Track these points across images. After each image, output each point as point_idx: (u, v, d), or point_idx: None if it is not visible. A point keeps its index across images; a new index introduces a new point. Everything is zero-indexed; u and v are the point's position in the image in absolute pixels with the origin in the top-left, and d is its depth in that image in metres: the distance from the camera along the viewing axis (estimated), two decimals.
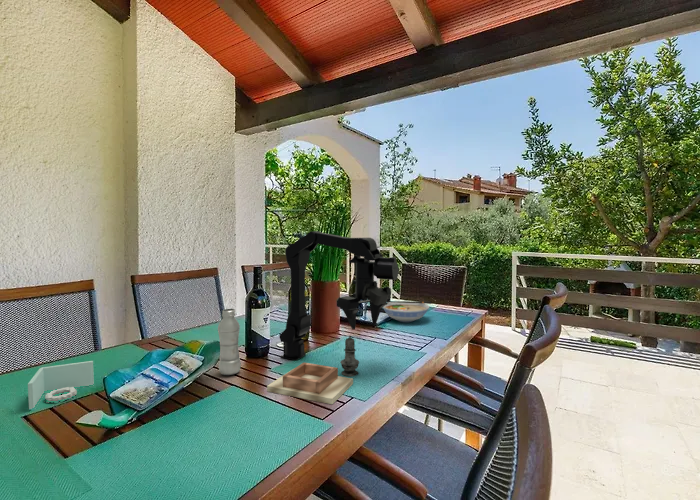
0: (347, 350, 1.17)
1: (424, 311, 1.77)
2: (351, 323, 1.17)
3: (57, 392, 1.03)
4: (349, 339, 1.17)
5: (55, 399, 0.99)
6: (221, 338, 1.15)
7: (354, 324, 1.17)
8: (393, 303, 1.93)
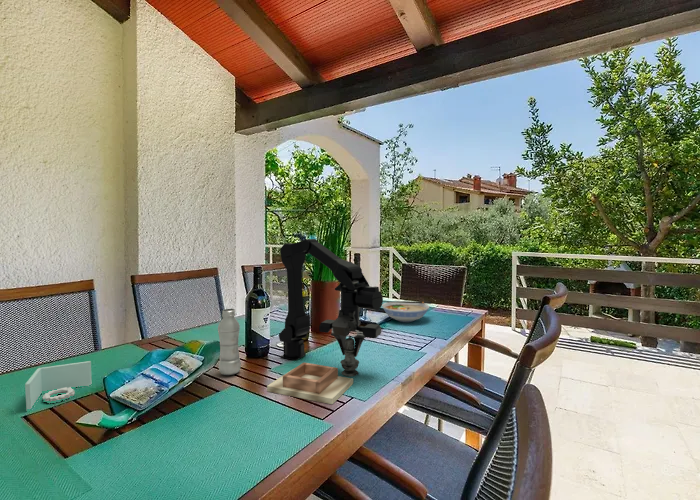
0: (347, 350, 1.17)
1: (424, 311, 1.77)
2: None
3: (55, 392, 1.02)
4: (349, 339, 1.17)
5: (53, 399, 0.98)
6: (221, 338, 1.15)
7: (342, 350, 1.18)
8: (393, 303, 1.93)
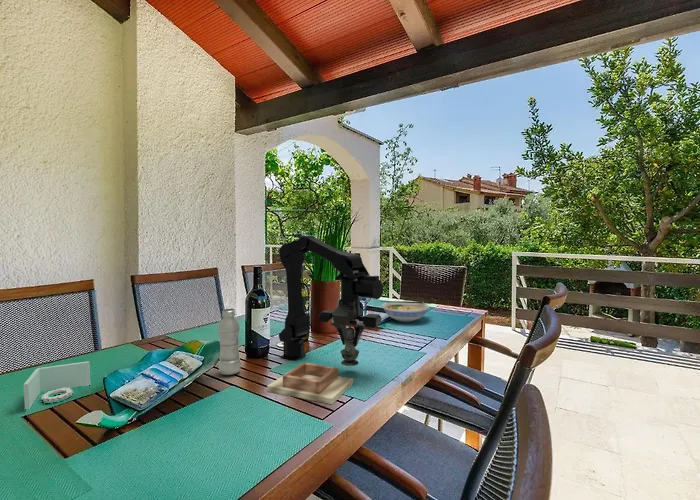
0: (347, 340, 1.17)
1: (424, 311, 1.77)
2: None
3: (53, 393, 1.02)
4: (349, 329, 1.17)
5: (51, 400, 0.98)
6: (221, 338, 1.15)
7: (342, 339, 1.18)
8: (393, 303, 1.93)
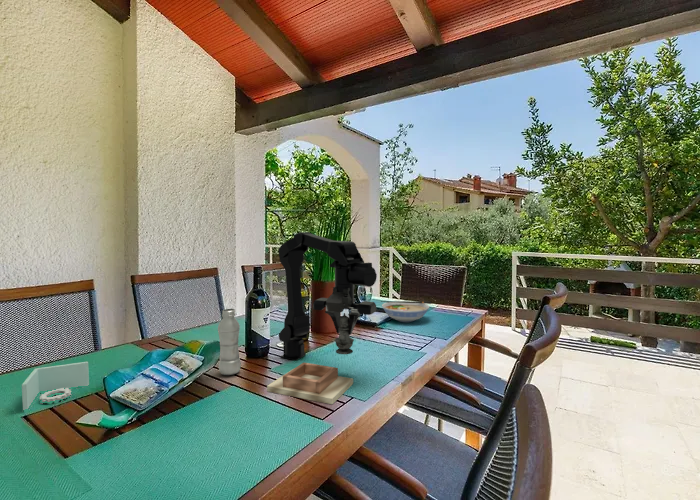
0: (342, 328, 1.15)
1: (424, 311, 1.77)
2: None
3: (52, 393, 1.02)
4: (343, 317, 1.15)
5: (49, 400, 0.98)
6: (221, 338, 1.15)
7: (336, 328, 1.16)
8: (393, 303, 1.93)
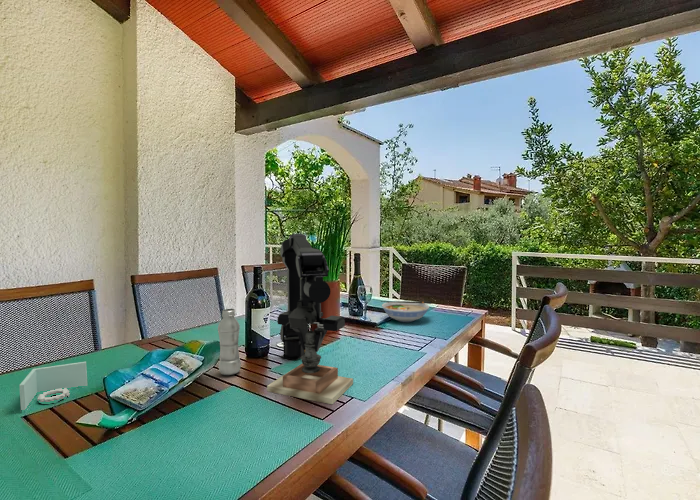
0: (308, 344, 1.06)
1: (424, 311, 1.77)
2: None
3: (50, 393, 1.02)
4: (309, 332, 1.06)
5: (47, 400, 0.98)
6: (221, 338, 1.15)
7: (302, 344, 1.08)
8: (393, 303, 1.93)
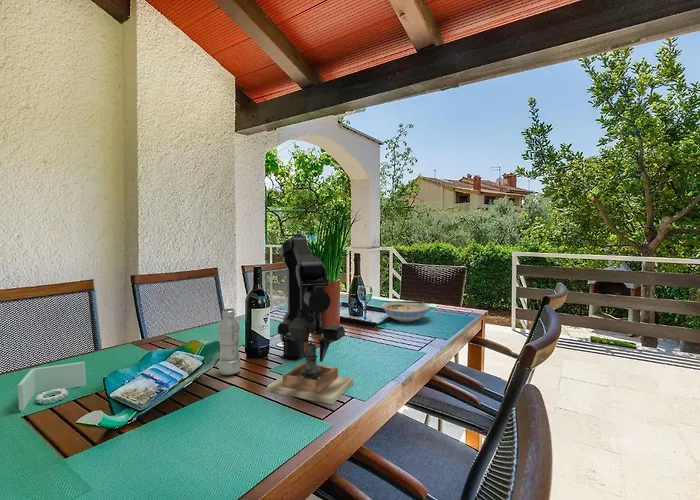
0: (308, 357, 1.06)
1: (424, 311, 1.77)
2: None
3: (48, 393, 1.02)
4: (310, 345, 1.07)
5: (46, 400, 0.98)
6: (221, 338, 1.15)
7: (298, 353, 1.08)
8: (393, 303, 1.93)
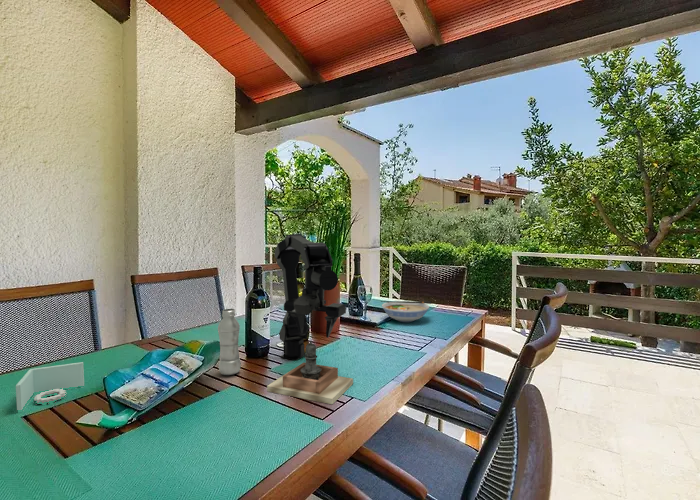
0: (308, 357, 1.06)
1: (424, 311, 1.77)
2: None
3: (46, 394, 1.02)
4: (310, 345, 1.07)
5: (44, 401, 0.98)
6: (221, 338, 1.15)
7: (298, 328, 1.17)
8: (393, 303, 1.93)
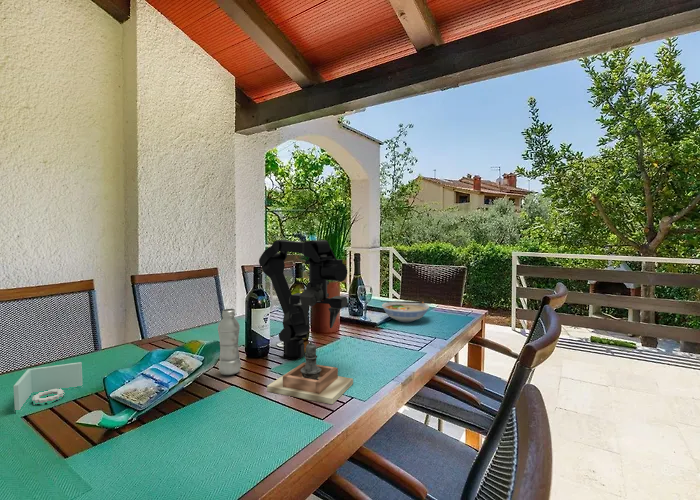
0: (308, 357, 1.06)
1: (424, 311, 1.77)
2: None
3: (44, 394, 1.02)
4: (310, 345, 1.07)
5: (42, 401, 0.98)
6: (221, 338, 1.15)
7: (303, 320, 1.25)
8: (393, 303, 1.93)
